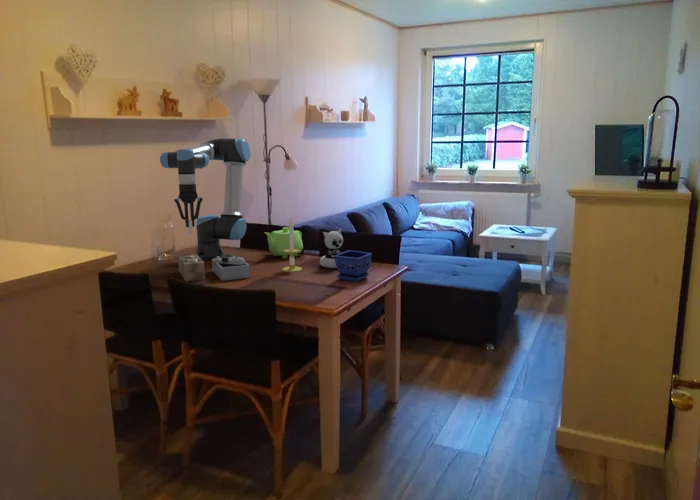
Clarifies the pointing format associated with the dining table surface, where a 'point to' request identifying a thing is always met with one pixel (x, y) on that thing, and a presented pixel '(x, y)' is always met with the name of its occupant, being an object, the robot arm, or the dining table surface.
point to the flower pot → (353, 265)
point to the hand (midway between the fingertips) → (190, 233)
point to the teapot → (283, 242)
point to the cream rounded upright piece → (192, 260)
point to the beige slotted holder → (191, 267)
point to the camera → (230, 261)
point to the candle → (291, 250)
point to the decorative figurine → (332, 248)
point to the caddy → (231, 271)
